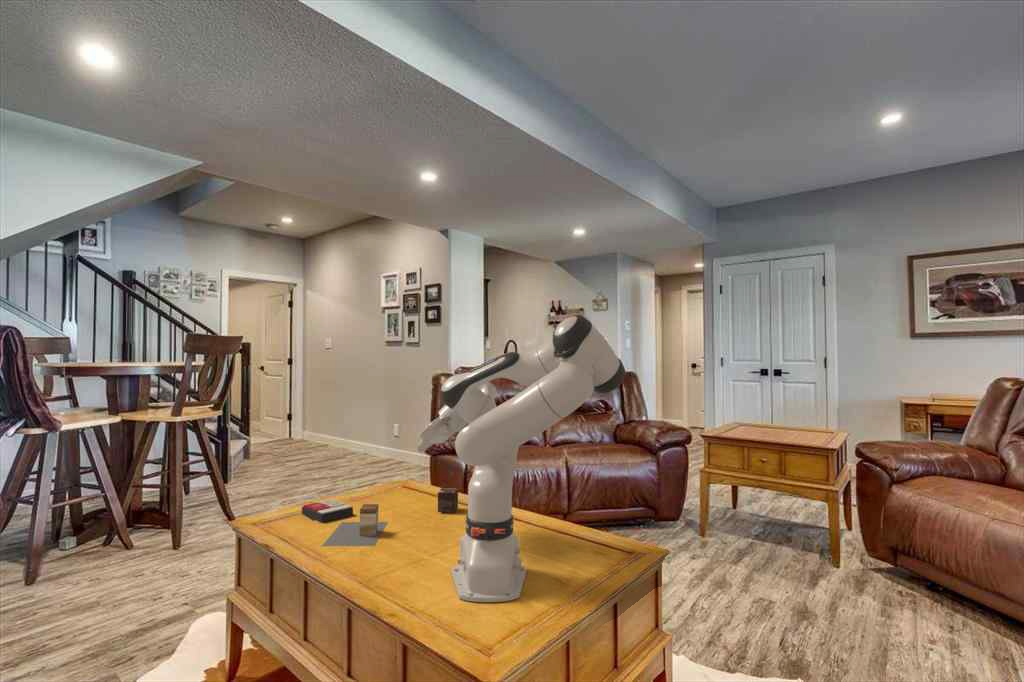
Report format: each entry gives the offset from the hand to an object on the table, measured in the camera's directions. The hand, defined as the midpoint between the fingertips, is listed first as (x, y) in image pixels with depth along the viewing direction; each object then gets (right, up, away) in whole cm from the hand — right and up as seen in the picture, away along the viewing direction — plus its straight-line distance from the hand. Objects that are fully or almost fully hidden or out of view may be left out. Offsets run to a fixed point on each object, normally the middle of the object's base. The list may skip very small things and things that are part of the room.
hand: (419, 450), depth 154 cm
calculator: (-34, -26, +16) cm, 45 cm away
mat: (-19, -25, -2) cm, 31 cm away
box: (+6, -26, +22) cm, 35 cm away
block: (-15, -24, -2) cm, 29 cm away
